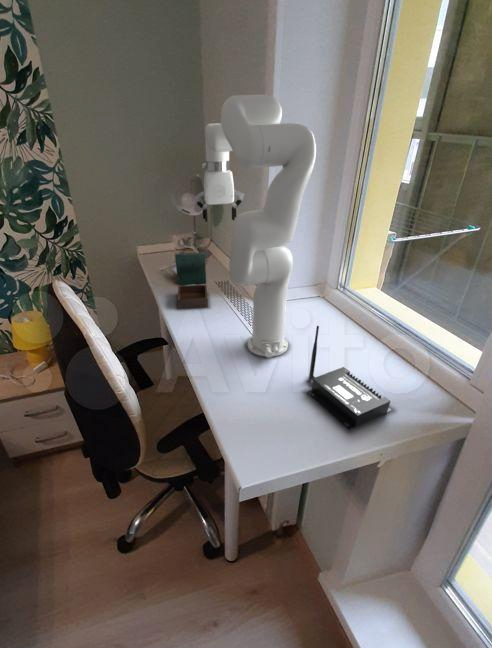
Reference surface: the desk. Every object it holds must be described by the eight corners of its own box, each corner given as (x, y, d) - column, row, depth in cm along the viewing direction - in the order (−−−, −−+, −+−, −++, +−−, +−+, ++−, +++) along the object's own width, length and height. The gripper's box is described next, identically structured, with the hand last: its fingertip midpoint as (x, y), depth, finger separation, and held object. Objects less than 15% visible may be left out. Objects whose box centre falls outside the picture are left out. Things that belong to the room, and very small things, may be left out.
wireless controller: (392, 410, 94) (409, 352, 84) (349, 430, 88) (362, 371, 79) (336, 368, 109) (345, 315, 99) (296, 383, 103) (302, 329, 94)
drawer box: (208, 307, 142) (207, 298, 140) (178, 309, 142) (177, 299, 140) (206, 293, 153) (206, 284, 151) (179, 294, 152) (178, 285, 150)
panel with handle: (204, 253, 141) (204, 246, 145) (174, 255, 140) (175, 247, 144) (206, 283, 150) (205, 276, 154) (178, 285, 150) (178, 277, 154)
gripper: (192, 169, 122) (195, 224, 131) (245, 167, 123) (245, 221, 132) (191, 166, 128) (195, 218, 137) (242, 164, 129) (242, 216, 138)
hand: (219, 220), depth 135 cm, fingers open, 9 cm apart
